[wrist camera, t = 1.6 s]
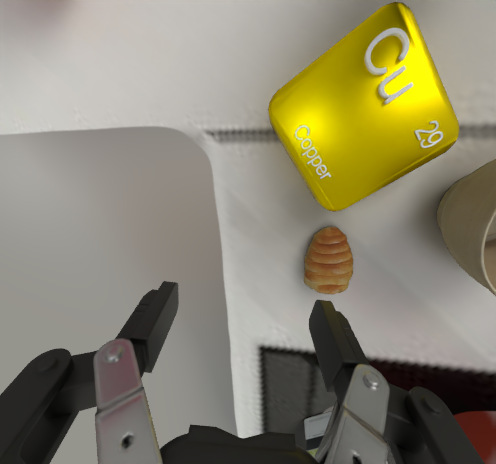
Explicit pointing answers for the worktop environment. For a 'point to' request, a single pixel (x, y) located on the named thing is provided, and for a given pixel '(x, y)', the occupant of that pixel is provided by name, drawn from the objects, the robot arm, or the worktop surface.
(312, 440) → the tea box
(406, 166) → the element tile
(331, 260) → the pastry
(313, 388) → the worktop surface
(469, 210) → the planter bowl
